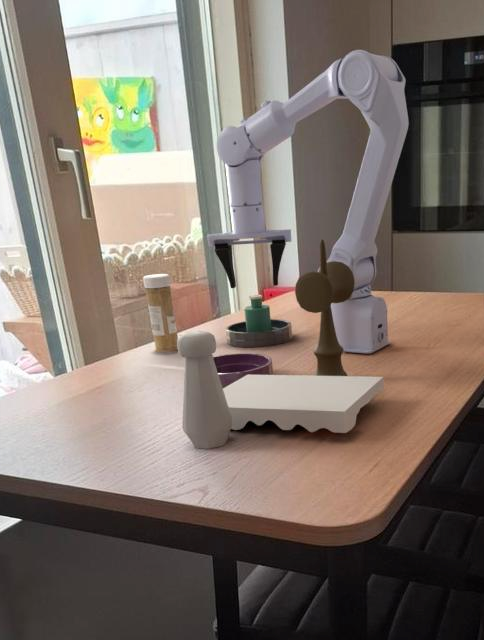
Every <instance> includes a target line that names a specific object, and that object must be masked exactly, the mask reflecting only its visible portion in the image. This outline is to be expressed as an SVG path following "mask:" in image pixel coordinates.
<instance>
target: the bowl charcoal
mask: <svg viewBox="0 0 484 640" xmlns="http://www.w3.org/2000/svg"><path fill="white" fill-rule="evenodd" d="M271 329H272V330H271V331H265V332H247V329H246V320H244V321H243V320H242V321H240V322H235V323H232V324H229V325H228V326H226V328H225V332H226V341H227V344H228V345H230V346H231V347H236V348H266V347H272V346H278V345H282V344H285V343H287V342H290V341H291V340H293V327H292V322H291V321H289V320H285V319H277V318H271Z"/></svg>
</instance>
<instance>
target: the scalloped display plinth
mask: <svg viewBox="0 0 484 640" xmlns="http://www.w3.org/2000/svg"><path fill="white" fill-rule="evenodd" d="M382 390H384V376H365V375H364V376H362V375H361V376H356V375H347V376H314V375H300V374H299V375H297V374H296V375H295V374H293V375H292V374H273V375H246V376H244V377H243V378H241V379H239V380H237V381H235V382H234V383H232V384H230V385H228V386H227V387H225V388H223V391H224V394H225V398H226V401H227V404H228V407H229V410H230V414H231V417H232V427H231V430H233V431H237V430H238V431H239V430H241V429H244V428H245V426H246V424H247V423H248V422H252V423H254V424H255V425H256V426H262V425H264V424H265V423H266V422H267V421H271V422H272V423H274V424H275V425H276V426H277V427H278V428H279V429H281V430H282V431H292V430H293V429H294V428H295V427H296V426H297V425H299V426H301V427H303V428H304V429H305V430H307V431H308V432H309V433H315V432H317V431H318V430H320V429H326V430H328V431H330V432H332V433H335V434H336V433H340V434H347V433H348V432H350V431H351V430H353V428H354V427H355V426H356V423H357V415H358V414H359V413H360V409H361V408H363V407H364V406H365V405H367V404H369V403H370V402H371V400H372V399H373V398H374V397H375V396H377V394H379V393H380V392H382Z"/></svg>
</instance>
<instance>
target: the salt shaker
mask: <svg viewBox="0 0 484 640" xmlns="http://www.w3.org/2000/svg"><path fill="white" fill-rule="evenodd" d="M177 349H178V350H177V353H178V355H179V356H181V358H184V370H183V371H184V374H183V377H184V378H183V404H182V407H183V408H182V423H181V425H182V426H181V427H182V430H183V432H184V434H185V435H186V436H187V438H188V439H189V441H190V442H191V443H192V445H193V446H194V448H195V449H205V450H210V449H215V448H218V447H219V448H220V447H223V446H224V445H225V444H226V443H227V441H228V440H229V436H230V432H231V430H232V429H231V427H232V417H231V414H230V410H229V407H228V404H227V401H226V398H225V394H224V391H223V388H222V385H221V382H220V378H219V375H218V372H217V369H216V366H215V362H214V359H213V357H214V355H213V354H214V353H216V350H217V340H216V337H215V335H214V334H213V333H211V332H209V331H203V330H202V331H201V330H194V331H188V332H185V333H183V334H180V335H179V336H178V340H177Z"/></svg>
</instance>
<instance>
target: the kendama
mask: <svg viewBox="0 0 484 640" xmlns="http://www.w3.org/2000/svg"><path fill="white" fill-rule="evenodd" d="M327 260H328V259H327V250H326V244H325V240H324V239H320V241H319V267H318V269H317V271H314V270H312V271H307V272H304V273H303V274H301V275H300V276H299V277H298V278H297V281H296V282H295V289H294V294H295V299H296V302H297V304H298V305H299V306H300V308H301V309H303V310H304V311H306V312H307V313H312V314H318V313H320V322H319V333H318V340H317V344H316V347H315V349H314V350H313V354H314V356H315V357H316V371H315V372H314V374H313V376H348V373H347V372H346V371H345V370H344V367H343V363H342V354H343V352H345V351H344V349H343V348H342V346H340V344H339V342H338V339H337V336H336V332H335V327H334V322H333V316H332V310H331V303H341V302H344V301H346V300H347V299H349V298H350V297H351V295H352V293H353V291H354V284H355V281H354V276H353V273H352V271H351V269H350V268H349V266H347V265H346V264H344V263H342V262H337V261H332V262H327Z"/></svg>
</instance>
